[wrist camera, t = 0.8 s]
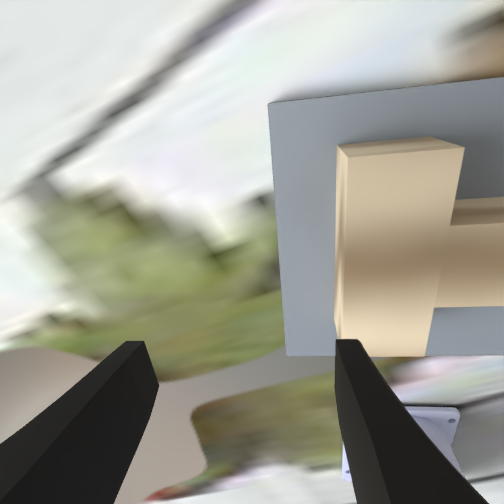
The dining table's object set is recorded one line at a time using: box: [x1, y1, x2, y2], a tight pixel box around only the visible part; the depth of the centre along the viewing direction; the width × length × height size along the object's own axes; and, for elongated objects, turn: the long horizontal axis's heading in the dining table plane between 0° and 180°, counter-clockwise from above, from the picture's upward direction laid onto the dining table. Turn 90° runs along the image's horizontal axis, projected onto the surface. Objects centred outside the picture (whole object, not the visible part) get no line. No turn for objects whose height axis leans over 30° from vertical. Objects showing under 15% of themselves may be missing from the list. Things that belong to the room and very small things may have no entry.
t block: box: [334, 136, 504, 356], centre depth 14 cm, size 10×11×3 cm
